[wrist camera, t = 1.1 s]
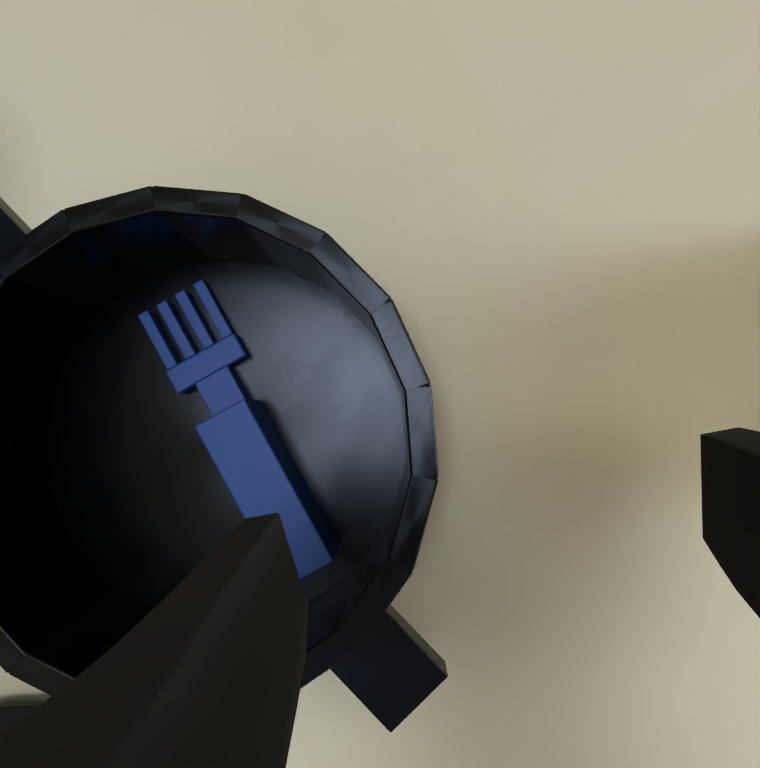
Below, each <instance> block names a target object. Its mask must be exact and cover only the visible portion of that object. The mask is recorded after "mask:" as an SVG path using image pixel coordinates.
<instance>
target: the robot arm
mask: <svg viewBox="0 0 760 768" xmlns="http://www.w3.org/2000/svg"><path fill="white" fill-rule="evenodd" d="M701 478H702V523H703V539H704V541H705V542H706V544H707V545H708V547H709V549H710V550H711V552H712V553H713V555H714V557H715V558H716V560H717V561H718V563H719V565H720V566H721V568H722V569H723V571H724V572H725V574H726V575H727V577H728V578H729V580H730V581H731V583H732V584H733V586H734V587H735V588H736V590H737V591H738V592H739V594H740V595H741V596H742V597H743V599H744V600H745V601H746V602H747V603H748V605H749V606H750V607H751V608H752V609H753V611H754V612H755V613H756V614H757V615H758V616H759V618H760V432H758V431H754V430H749V429H744V428H733V429H728V430H723V431H717V432H712V433H706V434H701ZM307 622H308V603H307V600H306V597H305V594H304V590H303V587H302V584H301V581H300V578H299V575H298V572H297V568H296V565H295V562H294V559H293V556H292V553H291V549H290V546H289V543H288V540H287V537H286V534H285V531H284V527H283V524H282V521H281V518H280V515H279V512H278V513H272V514H267V515H261V516H256V517H251V518H245V519H244V520H243V521H242V522H241V523H239V524H238V525H237V526H236V527H235V528H234V529H233V530H232V531H231V532H230V533H229V534H228V535H227V536H226V537H225V538H224V539H223V540H222V541H221V542H220V543H219V544H218V545H217V546H216V547H215V548H214V549H213V550H212V551H211V552H210V553H209V554H208V555H207V556H206V557H205V558H204V559H203V560H202V561H201V562H200V563H199V564H198V565H197V566H196V567H195V568H194V569H193V570H192V571H191V572H190V573H189V574H188V575H187V576H186V577H185V578H184V580H183V581H182V582H181V583H180V584H179V585H178V586H177V587H176V588H175V589H174V590H173V591H172V592H171V593H170V594H169V595H168V596H167V597H165V598H164V599H163V600H162V601H161V602H160V603H159V604H158V605H157V606H156V607H155V608H154V609H153V610H152V611H151V612H149V613H148V614H147V615H146V616H145V617H144V618H143V619H142V620H141V621H140V622H139V623H138V624H137V625H136V626H134V627H133V628H132V629H131V630H130V631H129V632H128V633H127V634H126V635H125V636H124V637H123V638H122V639H121V640H120V641H118V642H117V643H116V644H115V645H114V646H113V647H112V648H110V649H109V650H108V651H107V652H106V653H105V654H103V655H102V656H101V657H100V658H99V659H98V660H96V661H95V662H94V663H93V664H92V665H90V666H89V667H88V668H87V669H86V670H84V671H83V672H82V673H81V674H79V675H78V676H77V677H76V678H74V679H73V680H72V681H71V682H69V683H68V684H67V685H66V686H64V687H63V688H62V689H61V690H59V691H58V692H57V693H56V694H54V695H53V696H52V697H50V698H49V699H48V700H47V701H45V702H44V703H43V704H41V705H40V706H39V707H37V708H36V709H34V710H33V711H32V712H30V713H29V714H27V715H26V716H25V717H23V718H22V719H20V720H19V721H18V722H16V723H15V724H13V725H12V726H11V727H9V728H8V729H6V730H5V731H4V732H2V733H1V734H0V768H285V767H286V762H287V757H288V752H289V746H290V741H291V736H292V731H293V725H294V720H295V715H296V709H297V704H298V698H299V693H300V687H301V682H302V676H303V671H304V665H305V656H306V641H307Z"/></svg>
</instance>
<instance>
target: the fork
mask: <svg viewBox="0 0 760 768" xmlns="http://www.w3.org/2000/svg"><path fill="white" fill-rule="evenodd" d="M193 286H194V288H195V290H196V292H197V294H198V295H199V297H200V299H201V301H202V303H203V304H204V306H205V308H206V310H207V312H208V314H209V315H210V317H211V319H212V321H213V323H214V324H215V326H216V328H217V330H218V332H219V333H220V335H221V337H222V338H223V339H221V340H220V341H218V342H217V341H216V339H215V337H214V335H213V333H212V332H211V330H210V328H209V326H208V324H207V322H206V321H205V319H204V317H203V315H202V313H201V312H200V310H199V308H198V306H197V304H196V303H195V301H194V299H193V297H192V295H191V293H189V292H187V291H185V290H182V291H180V292H179V293H177V294H175V297H176V299H177V301H178V303H179V304H180V306H181V308H182V310H183V312H184V314H185V315H186V317H187V319H188V321H189V323H190V324H191V326H192V328H193V330H194V332H195V334H196V335H197V337H198V339H199V341H200V343H201V344H202V346H203V348H204V350H202V351H200V352H199V351H198V349H197V347H196V345H195V343H194V341H193V340H192V338H191V336H190V334H189V332H188V330H187V329H186V327H185V325H184V323H183V321H182V320H181V318H180V316H179V314H178V312H177V310H176V309H175V307H174V305H173V303H171V302H169V301H167V300H164V301H163V302H161V303H159V304H157V308H158V310H159V312H160V313H161V315H162V317H163V319H164V321H165V323H166V324H167V326H168V328H169V330H170V332H171V334H172V335H173V337H174V339H175V341H176V343H177V345H178V346H179V348H180V350H181V352H182V354H183V356H184V357H185V359H186V360H184V361H183V362H181V360H180V359H179V357H178V355H177V353H176V351H175V349H174V348H173V346H172V344H171V342H170V340H169V338H168V337H167V335H166V333H165V331H164V329H163V327H162V326H161V324H160V322H159V320H158V318H157V316H156V315H155V313H153V312H150V311H145V312H143V313H141V314H140V315H138V317H139V319H140V321H141V323H142V324H143V326H144V328H145V330H146V332H147V334H148V335H149V337H150V339H151V341H152V343H153V345H154V346H155V348H156V350H157V352H158V354H159V356H160V357H161V359H162V361H163V363H164V365H165V367H166V368H167V371H166V374H167V376H168V378H169V379H170V381H171V383H172V385H173V387H174V389H175V390H176V392H177V393H180V394H186V393H188V392H189V391H191V390H193V389H195V388H196V387H197V389H198V391H199V392H200V394H201V396H202V398H203V400H204V402H205V403H206V405H207V407H208V409H209V411H210V413H211V414H212V417H210V418H209V419H207V420H205V421H203V422H201V423H200V424H198V425H196V426H195V429H196V430H197V432H198V434H199V436H200V438H201V440H202V441H203V443H204V445H205V447H206V449H207V451H208V452H209V454H210V456H211V458H212V460H213V462H214V463H215V465H216V467H217V469H218V471H219V473H220V474H221V476H222V478H223V480H224V482H225V484H226V486H227V487H228V489H229V491H230V493H231V495H232V497H233V498H234V500H235V502H236V504H237V506H238V508H239V509H240V511H241V513H242V515H243V517H244V519H245V518H251V517H256V516H261V515H267V514H272V513H278V512H279V515H280V518H281V521H282V524H283V527H284V531H285V534H286V537H287V540H288V543H289V546H290V549H291V553H292V556H293V559H294V562H295V565H296V568H297V572H298V575H299V578H300V580H302V579H303V578H305V577H307V576H309V575H311V574H312V573H314V572H316V571H318V570H319V569H321V568H323V567H325V566H327V565H328V564H330V563H332V562H333V560H334V558H335V555H336V553H337V550H338V548H339V545H340V544H339V542H338V540H337V538H336V536H335V535H334V533H333V531H332V529H331V527H330V525H329V524H328V522H327V520H326V518H325V516H324V515H323V513H322V511H321V509H320V507H319V506H318V504H317V502H316V500H315V498H314V496H313V495H312V493H311V491H310V489H309V487H308V486H307V484H306V482H305V480H304V478H303V477H302V475H301V473H300V471H299V469H298V467H297V466H296V464H295V462H294V460H293V458H292V457H291V455H290V453H289V451H288V449H287V448H286V446H285V444H284V442H283V440H282V438H281V437H280V435H279V433H278V431H277V429H276V428H275V426H274V424H273V422H272V420H271V419H270V417H269V415H268V413H267V411H266V409H265V408H264V406H263V404H262V402H261V401H260V400H253V399H251V398H250V396H249V394H248V393H247V391H246V389H245V387H244V385H243V384H242V382H241V380H240V378H239V376H238V375H237V373H236V371H235V369H234V368H233V367H234V366H235V365H237V364H239V363H241V362H242V361H244V360H246V359H248V358H249V357H250V354H249V352H248V350H247V349H246V347H245V345H244V343H243V341H242V340H241V338H240V336H239V335H237V334H236V333H235V331H234V329H233V327H232V325H231V324H230V322H229V320H228V318H227V316H226V314H225V313H224V311H223V309H222V307H221V305H220V304H219V302H218V300H217V298H216V296H215V295H214V293H213V291H212V289H211V287H210V286H209V284H208V283H207V282H206V281H204V280H200V281H198V282H196V283H195V284H193Z"/></svg>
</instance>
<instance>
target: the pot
mask: <svg viewBox="0 0 760 768" xmlns="http://www.w3.org/2000/svg"><path fill="white" fill-rule="evenodd" d="M200 280H204V281H206V282H207V283H208V284H209V286H210V287H211V289H212V291H213V293H214V295H215V296H216V298H217V300H218V302H219V304H220V305H221V307H222V309H223V311H224V313H225V314H226V316H227V318H228V320H229V322H230V324H231V325H232V327H233V329H234V331H235V333H236V334H237V335H239V336H240V338H241V340H242V341H243V343H244V345H245V347H246V349H247V350H248V352H249V354H250V357H249V358H248V359H246V360H244V361H242V362H241V363H239V364H237V365H235V366H234V367H233V368H234V369H235V371H236V373H237V375H238V376H239V378H240V380H241V382H242V384H243V385H244V387H245V389H246V391H247V393H248V394H249V396H250V398H251V399H253V400H260V401H261V402H262V404H263V406H264V408H265V409H266V411H267V413H268V415H269V417H270V419H271V420H272V422H273V424H274V426H275V428H276V429H277V431H278V433H279V435H280V437H281V438H282V440H283V442H284V444H285V446H286V448H287V449H288V451H289V453H290V455H291V457H292V458H293V460H294V462H295V464H296V466H297V467H298V469H299V471H300V473H301V475H302V477H303V478H304V480H305V482H306V484H307V486H308V487H309V489H310V491H311V493H312V495H313V496H314V498H315V500H316V502H317V504H318V506H319V507H320V509H321V511H322V513H323V515H324V516H325V518H326V520H327V522H328V524H329V525H330V527H331V529H332V531H333V533H334V535H335V536H336V538H337V540H338V542H339V544H340V545H339V548H338V550H337V553H336V555H335V558H334V560H333V562H332V563H330V564H328V565H327V566H325V567H323V568H321V569H319V570H318V571H316V572H314V573H312V574H311V575H309V576H307V577H305V578H303V579H302V580H300V581H301V584H302V587H303V590H304V594H305V597H306V600H307V603H308V622H307V641H306V656H305V665H304V671H303V676H302V682H301V687H300V689H301V688H302V687H304V686H305V685H307V684H308V683H310V682H311V681H312V680H314V679H315V678H317V677H318V676H320V675H321V674H323V673H324V672H326V671H327V670H329V669H331V670H332V671H333V672H334V673H335V674H336V675H337V676H338V678H339V679H340V680H341V681H342V682H343V683H344V684H345V685H346V686H347V687H348V688H349V689H350V690H351V691H352V692H353V693H354V694H355V696H356V697H357V698H358V699H359V700H360V701H361V702H362V703H363V704H364V705H365V706H366V707H367V708H368V709H369V710H370V711H371V712H372V714H373V715H374V716H375V717H376V718H377V719H378V720H379V721H380V722H381V723H382V724H383V725H384V726H385V727H386V728H387V729H388V730H389V731H390V732H392V731H393V730H394V729H395V728H396V727H397V726H398V725H399V724H400V723H401V722H402V721H403V720H404V719H405V718H406V717H407V716H408V715H409V714H410V713H411V712H412V711H413V710H414V709H415V708H416V707H417V706H418V705H419V704H420V703H421V702H422V701H423V700H424V699H425V698H426V697H427V696H428V695H430V694H431V693H432V692H433V691H434V690H435V689H436V688H437V687H438V686H439V685H440V684H441V683H442V682H443V681H444V680H445V679H446V678H447V676H448V674H447V669H446V664H445V661H444V660H443V659H442V658H441V657H440V656H439V655H438V654H437V652H436V651H435V650H434V649H433V648H432V647H431V646H430V645H429V644H428V643H427V642H426V641H425V640H424V639H423V638H422V637H421V636H420V635H419V634H418V633H417V632H416V631H415V630H414V628H413V627H412V626H411V625H410V624H409V623H408V622H407V621H406V620H405V619H404V618H403V617H402V616H401V615H400V614H399V613H398V612H397V611H396V610H395V609H394V608H393V607H392V605H391V602H392V601H393V599H394V598H395V597H396V595H397V594H398V592H399V591H400V590H401V588H402V587H403V585H404V584H405V583H406V581H407V580H408V578H409V577H410V576H411V574H412V570H413V569H414V567H415V563H416V559H417V556H418V552H419V549H420V545H421V541H422V538H423V534H424V530H425V527H426V523H427V519H428V516H429V512H430V509H431V505H432V501H433V498H434V494H435V490H436V487H437V483H438V479H437V478H438V464H437V452H436V439H435V427H434V414H433V402H432V389H431V385H429V384H430V380H429V378H428V376H427V374H426V372H425V370H424V367H423V365H422V363H421V361H420V359H419V356H418V354H417V352H416V350H415V348H414V346H413V343H412V341H411V339H410V337H409V335H408V332H407V330H406V328H405V326H404V324H403V322H402V319H401V317H400V315H399V313H398V311H397V308H396V306H395V304H394V302H393V300H392V299H391V297H390V296H389V295H388V294H387V293H386V292H385V291H384V290H383V289H382V288H381V287H380V286H379V285H378V284H377V283H376V282H375V281H374V280H373V279H372V278H371V277H370V276H369V275H368V274H367V273H366V272H365V271H364V270H363V269H362V268H361V267H360V266H359V265H358V264H357V263H356V262H355V261H354V260H353V259H352V258H351V257H350V256H349V255H348V254H347V253H346V252H345V251H344V250H343V249H342V248H341V246H340V245H339V244H338V243H337V242H336V241H335V240H334V239H333V238H332V237H331V236H330V235H329V234H327V233H326V232H325V231H323V230H320V229H318V228H316V227H314V226H312V225H310V224H308V223H306V222H303V221H301V220H299V219H297V218H295V217H293V216H291V215H288V214H286V213H284V212H282V211H280V210H278V209H276V208H273V207H271V206H269V205H267V204H265V203H263V202H261V201H259V200H256V199H254V198H252V197H250V196H248V195H246V194H243V195H242V194H240V193H229V192H218V191H206V190H195V189H183V188H172V187H161V186H153V187H151V186H149V187H145V188H141V189H137V190H134V191H130V192H126V193H122V194H118V195H115V196H111V197H107V198H103V199H100V200H96V201H92V202H88V203H84V204H81V205H77V206H73V207H69V208H66V209H64V210H61V211H60V212H58V213H57V214H55V215H54V216H52V217H51V218H49V219H48V220H46V221H45V222H44V223H42V224H41V225H39V226H38V227H36V228H35V229H33V230H31V229H30V228H29V227H28V226H27V225H26V223H25V222H24V221H23V220H22V219H21V218H20V217H19V216H18V215H17V214H16V213H15V212H14V211H13V210H12V209H11V208H10V207H9V206H8V205H7V204H6V203H5V202H4V201H3V199H2V198H1V197H0V666H1V667H2V668H3V669H4V670H5V671H6V672H7V673H8V672H9V674H10V675H12V676H14V677H16V678H18V679H20V680H22V681H24V682H26V683H27V684H29V685H31V686H33V687H35V688H37V689H39V690H41V691H43V692H45V693H47V694H49V695H51V696H53V695H54V694H56V693H57V692H58V691H59V690H61V689H62V688H63V687H64V686H66V685H67V684H68V683H69V682H71V681H72V680H73V679H74V678H76V677H77V676H78V675H79V674H81V673H82V672H83V671H84V670H86V669H87V668H88V667H89V666H90V665H92V664H93V663H94V662H95V661H96V660H98V659H99V658H100V657H101V656H102V655H103V654H105V653H106V652H107V651H108V650H109V649H110V648H112V647H113V646H114V645H115V644H116V643H117V642H118V641H120V640H121V639H122V638H123V637H124V636H125V635H126V634H127V633H128V632H129V631H130V630H131V629H132V628H133V627H134V626H136V625H137V624H138V623H139V622H140V621H141V620H142V619H143V618H144V617H145V616H146V615H147V614H148V613H149V612H151V611H152V610H153V609H154V608H155V607H156V606H157V605H158V604H159V603H160V602H161V601H162V600H163V599H164V598H165V597H167V596H168V595H169V594H170V593H171V592H172V591H173V590H174V589H175V588H176V587H177V586H178V585H179V584H180V583H181V582H182V581H183V580H184V578H185V577H186V576H187V575H188V574H189V573H190V572H191V571H192V570H193V569H194V568H195V567H196V566H197V565H198V564H199V563H200V562H201V561H202V560H203V559H204V558H205V557H206V556H207V555H208V554H209V553H210V552H211V551H212V550H213V549H214V548H215V547H216V546H217V545H218V544H219V543H220V542H221V541H222V540H223V539H224V538H225V537H226V536H227V535H228V534H229V533H230V532H231V531H232V530H233V529H234V528H235V527H236V526H237V525H238V524H239V523H241V522H242V521H243V520H244V517H243V515H242V513H241V511H240V509H239V508H238V506H237V504H236V502H235V500H234V498H233V497H232V495H231V493H230V491H229V489H228V487H227V486H226V484H225V482H224V480H223V478H222V476H221V474H220V473H219V471H218V469H217V467H216V465H215V463H214V462H213V460H212V458H211V456H210V454H209V452H208V451H207V449H206V447H205V445H204V443H203V441H202V440H201V438H200V436H199V434H198V432H197V430H196V429H195V426H196V425H198V424H200V423H201V422H203V421H205V420H207V419H209V418H210V417H212V414H211V413H210V411H209V409H208V407H207V405H206V403H205V402H204V400H203V398H202V396H201V394H200V392H199V391H198V389H197V387H196V388H195V389H193V390H191V391H189V392H188V393H186V394H180V393H177V392H176V390H175V389H174V387H173V385H172V383H171V381H170V379H169V378H168V376H167V374H166V371H167V368H166V367H165V365H164V363H163V361H162V359H161V357H160V356H159V354H158V352H157V350H156V348H155V346H154V345H153V343H152V341H151V339H150V337H149V335H148V334H147V332H146V330H145V328H144V326H143V324H142V323H141V321H140V319H139V317H138V315H140V314H141V313H143V312H145V311H150V312H153V313H155V315H156V316H157V318H158V320H159V322H160V324H161V326H162V327H163V329H164V331H165V333H166V335H167V337H168V338H169V340H170V342H171V344H172V346H173V348H174V349H175V351H176V353H177V355H178V357H179V359H180V360H181V362H183V361H184V360H186V359H185V357H184V356H183V354H182V352H181V350H180V348H179V346H178V345H177V343H176V341H175V339H174V337H173V335H172V334H171V332H170V330H169V328H168V326H167V324H166V323H165V321H164V319H163V317H162V315H161V313H160V312H159V310H158V308H157V304H159V303H161V302H163V301H164V300H167V301H169V302H171V303H173V305H174V307H175V309H176V310H177V312H178V314H179V316H180V318H181V320H182V321H183V323H184V325H185V327H186V329H187V330H188V332H189V334H190V336H191V338H192V340H193V341H194V343H195V345H196V347H197V349H198V351H199V352H200V351H202V350H204V348H203V346H202V344H201V343H200V341H199V339H198V337H197V335H196V334H195V332H194V330H193V328H192V326H191V324H190V323H189V321H188V319H187V317H186V315H185V314H184V312H183V310H182V308H181V306H180V304H179V303H178V301H177V299H176V297H175V294H177V293H179V292H180V291H182V290H185V291H187V292H189V293H191V295H192V297H193V299H194V301H195V303H196V304H197V306H198V308H199V310H200V312H201V313H202V315H203V317H204V319H205V321H206V322H207V324H208V326H209V328H210V330H211V332H212V333H213V335H214V337H215V339H216V341H217V342H218V341H220V340H221V339H223V338H222V337H221V335H220V333H219V332H218V330H217V328H216V326H215V324H214V323H213V321H212V319H211V317H210V315H209V314H208V312H207V310H206V308H205V306H204V304H203V303H202V301H201V299H200V297H199V295H198V294H197V292H196V290H195V288H194V286H193V284H195V283H196V282H198V281H200Z"/></svg>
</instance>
